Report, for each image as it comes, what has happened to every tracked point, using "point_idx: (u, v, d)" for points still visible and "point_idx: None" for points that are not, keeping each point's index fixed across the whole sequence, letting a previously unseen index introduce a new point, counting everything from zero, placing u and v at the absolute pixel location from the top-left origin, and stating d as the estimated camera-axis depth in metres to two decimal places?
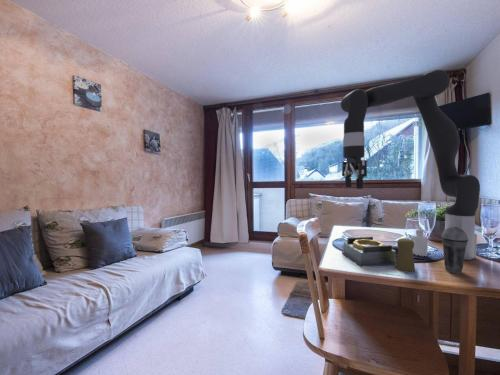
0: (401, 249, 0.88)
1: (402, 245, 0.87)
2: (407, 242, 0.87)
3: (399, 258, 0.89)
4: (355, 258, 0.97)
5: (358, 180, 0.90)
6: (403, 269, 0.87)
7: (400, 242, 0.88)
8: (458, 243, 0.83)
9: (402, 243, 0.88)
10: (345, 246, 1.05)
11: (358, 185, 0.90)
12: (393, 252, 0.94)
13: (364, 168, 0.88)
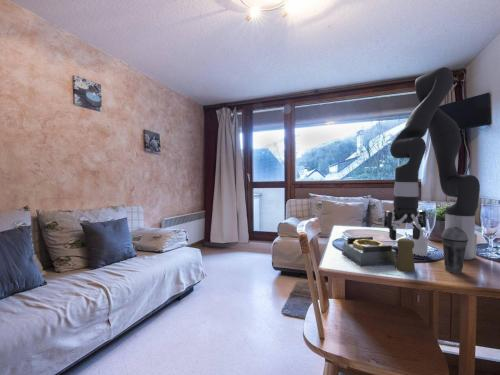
0: (401, 249, 0.88)
1: (402, 245, 0.87)
2: (407, 242, 0.87)
3: (399, 258, 0.89)
4: (355, 258, 0.97)
5: (419, 231, 0.89)
6: (403, 269, 0.87)
7: (400, 242, 0.88)
8: (458, 243, 0.83)
9: (402, 243, 0.88)
10: (345, 246, 1.05)
11: (418, 236, 0.89)
12: (393, 252, 0.94)
13: None
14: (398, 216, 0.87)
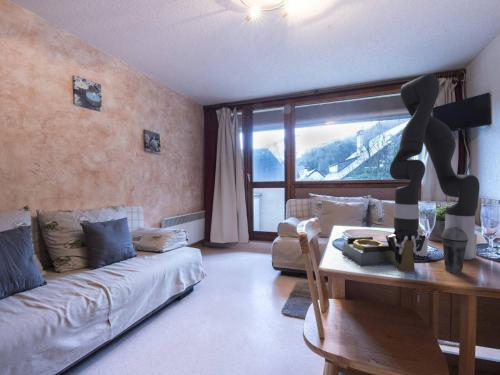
0: None
1: None
2: (407, 242, 0.87)
3: None
4: (355, 258, 0.97)
5: (414, 254, 0.89)
6: (403, 269, 0.87)
7: None
8: (458, 243, 0.83)
9: None
10: (345, 246, 1.05)
11: (414, 259, 0.89)
12: (393, 252, 0.94)
13: None
14: (399, 240, 0.88)
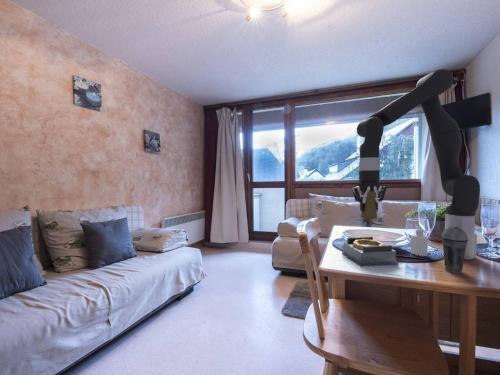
0: None
1: None
2: (369, 192, 0.97)
3: None
4: (355, 258, 0.97)
5: (377, 204, 0.99)
6: (366, 216, 0.97)
7: (364, 193, 0.98)
8: (458, 243, 0.83)
9: None
10: (345, 246, 1.05)
11: (377, 209, 0.99)
12: (393, 252, 0.94)
13: None
14: (363, 190, 0.98)
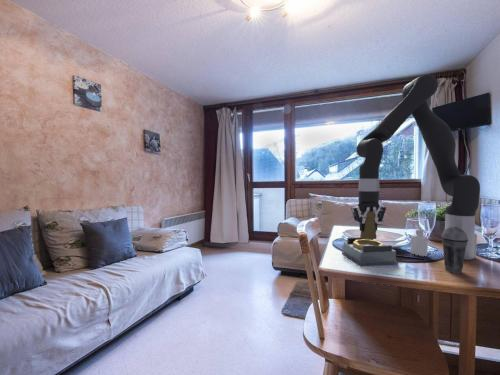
0: None
1: None
2: (369, 212, 0.98)
3: None
4: (355, 258, 0.97)
5: (376, 224, 1.00)
6: (366, 236, 0.98)
7: None
8: (458, 243, 0.83)
9: None
10: (345, 246, 1.05)
11: (376, 229, 1.00)
12: (393, 252, 0.94)
13: None
14: (362, 210, 0.98)
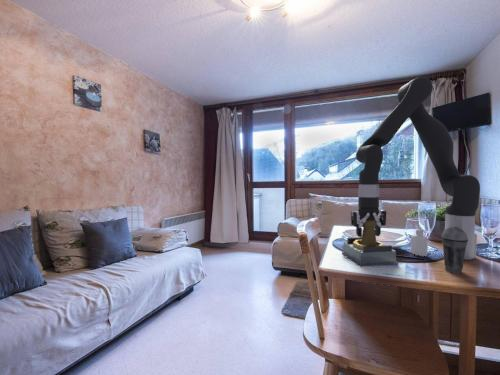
0: (365, 228, 0.99)
1: (365, 225, 0.98)
2: (369, 222, 0.98)
3: (363, 236, 1.00)
4: (355, 258, 0.97)
5: (379, 228, 1.00)
6: None
7: None
8: (458, 243, 0.83)
9: (365, 223, 0.98)
10: (345, 246, 1.05)
11: (379, 233, 1.00)
12: (393, 252, 0.94)
13: None
14: (362, 215, 0.98)
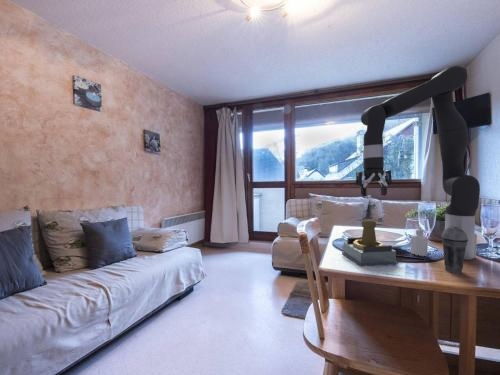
0: (365, 228, 0.99)
1: (365, 225, 0.98)
2: (369, 222, 0.98)
3: (363, 236, 1.00)
4: (355, 258, 0.97)
5: (386, 188, 1.02)
6: None
7: (364, 222, 0.99)
8: (458, 243, 0.83)
9: (365, 223, 0.98)
10: (345, 246, 1.05)
11: (386, 192, 1.02)
12: (393, 252, 0.94)
13: None
14: (367, 175, 1.00)
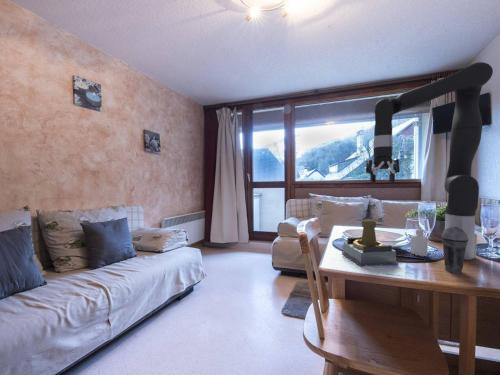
0: (365, 228, 0.99)
1: (365, 225, 0.98)
2: (369, 222, 0.98)
3: (363, 236, 1.00)
4: (355, 258, 0.97)
5: (394, 175, 1.10)
6: None
7: (364, 222, 0.99)
8: (458, 243, 0.83)
9: (365, 223, 0.98)
10: (345, 246, 1.05)
11: (394, 179, 1.11)
12: (393, 252, 0.94)
13: None
14: (377, 163, 1.09)
